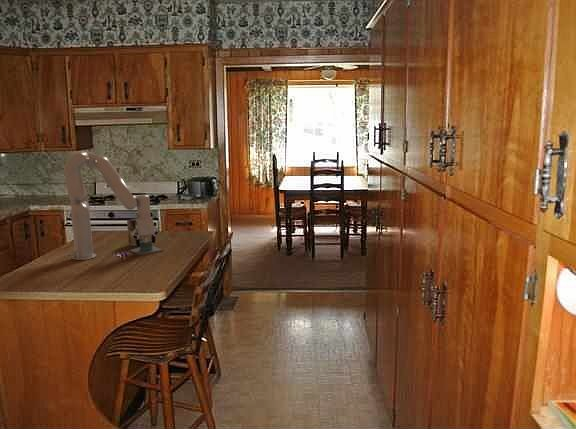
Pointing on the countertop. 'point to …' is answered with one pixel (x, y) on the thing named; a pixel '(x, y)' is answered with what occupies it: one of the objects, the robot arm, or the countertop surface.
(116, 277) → the countertop surface
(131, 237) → the coffee box
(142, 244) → the ring
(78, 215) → the robot arm
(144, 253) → the post fixture
